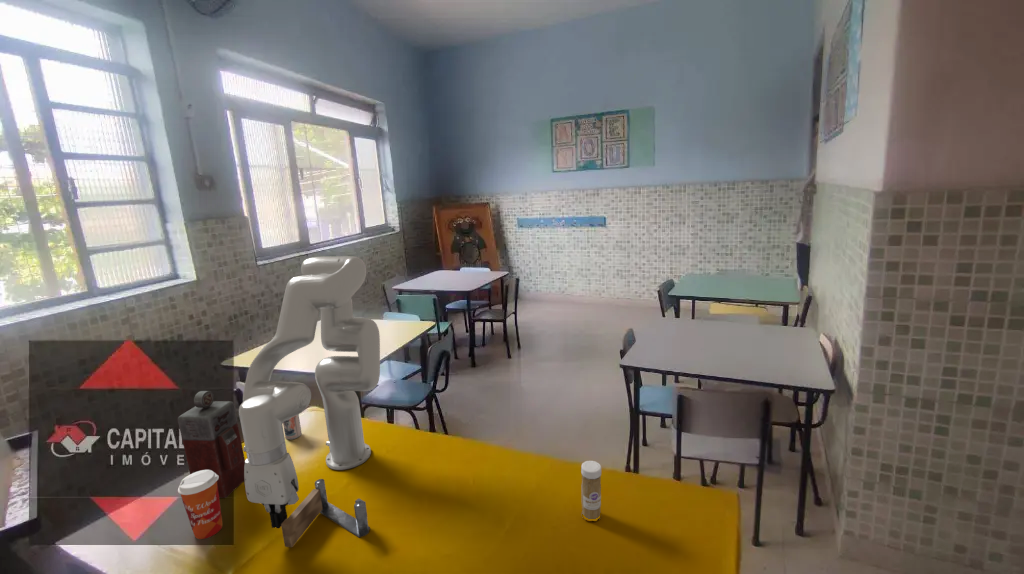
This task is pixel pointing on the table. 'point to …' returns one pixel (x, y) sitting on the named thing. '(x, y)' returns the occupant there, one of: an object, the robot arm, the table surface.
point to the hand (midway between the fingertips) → (279, 523)
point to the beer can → (292, 428)
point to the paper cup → (202, 503)
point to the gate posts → (342, 518)
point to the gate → (301, 518)
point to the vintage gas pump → (213, 441)
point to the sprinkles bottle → (591, 489)
